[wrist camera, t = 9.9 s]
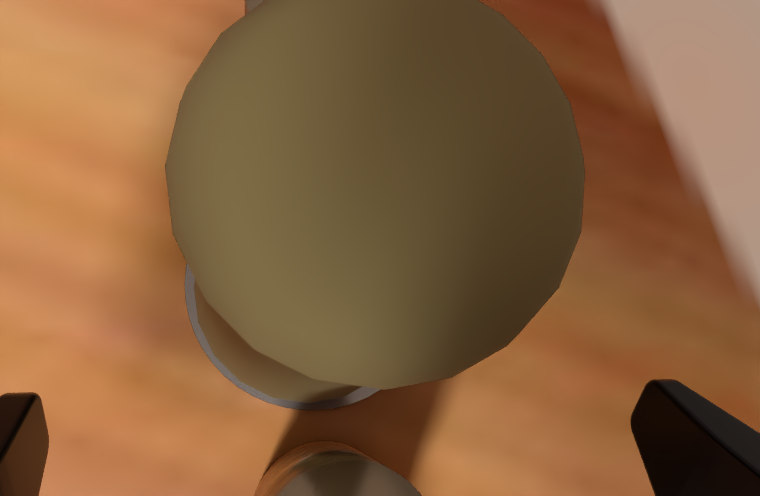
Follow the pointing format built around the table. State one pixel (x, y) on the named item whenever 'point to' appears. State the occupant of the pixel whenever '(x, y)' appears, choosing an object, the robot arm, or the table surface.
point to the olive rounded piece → (371, 192)
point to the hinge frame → (315, 459)
